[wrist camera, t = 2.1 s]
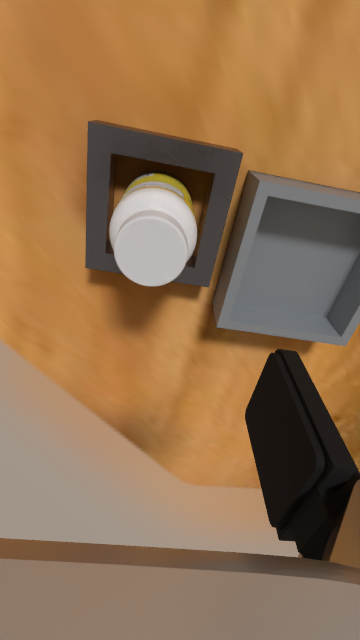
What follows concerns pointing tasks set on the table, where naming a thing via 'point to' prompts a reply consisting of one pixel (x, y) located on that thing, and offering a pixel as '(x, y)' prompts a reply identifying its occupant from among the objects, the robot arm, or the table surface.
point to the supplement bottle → (153, 229)
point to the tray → (292, 262)
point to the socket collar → (163, 149)
